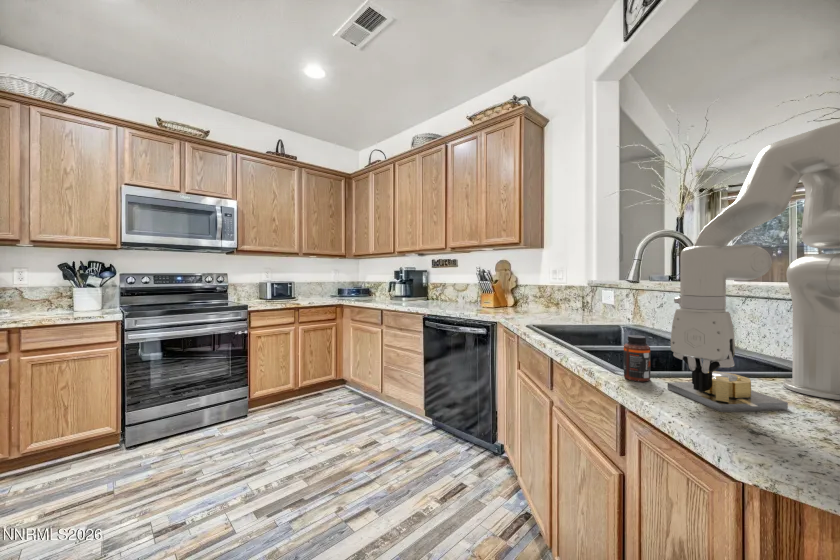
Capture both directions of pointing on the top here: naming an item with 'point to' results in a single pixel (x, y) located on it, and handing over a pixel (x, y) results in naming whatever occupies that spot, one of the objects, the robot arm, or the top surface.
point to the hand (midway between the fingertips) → (701, 389)
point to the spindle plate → (735, 404)
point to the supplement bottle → (637, 359)
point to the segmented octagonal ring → (730, 388)
